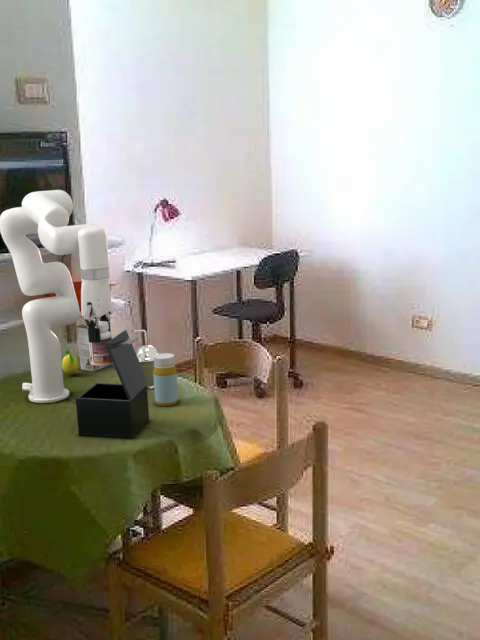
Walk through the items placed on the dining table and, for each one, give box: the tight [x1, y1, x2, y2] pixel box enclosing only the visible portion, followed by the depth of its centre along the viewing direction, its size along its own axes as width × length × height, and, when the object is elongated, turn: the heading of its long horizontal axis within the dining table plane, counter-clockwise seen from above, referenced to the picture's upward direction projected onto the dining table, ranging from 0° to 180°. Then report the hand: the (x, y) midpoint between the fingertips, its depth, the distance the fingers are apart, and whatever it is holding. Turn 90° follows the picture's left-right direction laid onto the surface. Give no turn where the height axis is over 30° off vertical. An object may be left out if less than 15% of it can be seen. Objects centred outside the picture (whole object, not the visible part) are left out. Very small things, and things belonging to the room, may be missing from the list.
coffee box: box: [76, 319, 112, 373], centre depth 274 cm, size 9×6×16 cm
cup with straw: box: [131, 329, 159, 390], centre depth 250 cm, size 8×9×20 cm
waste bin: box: [75, 382, 150, 440], centre depth 217 cm, size 16×14×11 cm
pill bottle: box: [89, 320, 113, 366], centre depth 212 cm, size 6×6×11 cm
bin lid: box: [105, 329, 148, 400], centre depth 212 cm, size 16×14×6 cm
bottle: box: [153, 352, 179, 407], centre depth 235 cm, size 7×7×15 cm
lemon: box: [61, 347, 79, 376], centre depth 266 cm, size 7×6×10 cm
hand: (100, 338), depth 212 cm, fingers closed on pill bottle, 6 cm apart
